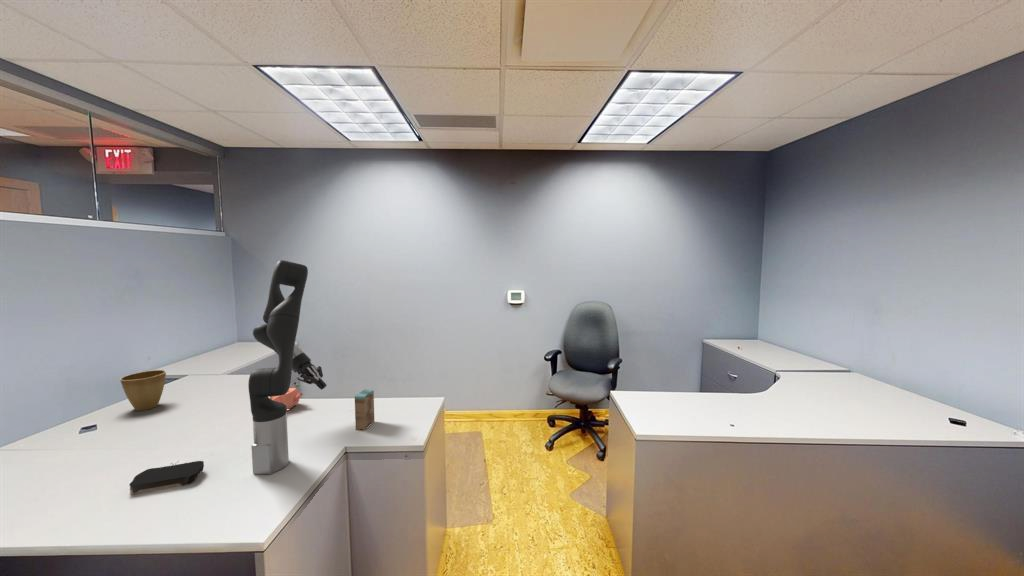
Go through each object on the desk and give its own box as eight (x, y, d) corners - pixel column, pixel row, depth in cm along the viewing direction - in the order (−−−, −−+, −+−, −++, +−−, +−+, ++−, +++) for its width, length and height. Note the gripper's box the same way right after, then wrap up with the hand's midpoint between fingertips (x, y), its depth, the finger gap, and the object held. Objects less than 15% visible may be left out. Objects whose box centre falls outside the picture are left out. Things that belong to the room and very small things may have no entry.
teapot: (303, 408, 163) (303, 388, 163) (273, 415, 155) (272, 394, 155) (298, 401, 172) (297, 382, 171) (269, 407, 164) (268, 387, 163)
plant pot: (137, 403, 169) (135, 371, 168) (175, 400, 174) (173, 368, 173) (113, 416, 155) (110, 381, 154) (155, 411, 160) (152, 377, 159)
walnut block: (365, 430, 141) (364, 396, 140) (355, 429, 141) (354, 396, 140) (374, 421, 149) (373, 389, 148) (365, 421, 149) (364, 389, 148)
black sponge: (207, 470, 114) (207, 459, 114) (193, 485, 106) (193, 473, 106) (143, 480, 109) (143, 469, 108) (124, 497, 101) (123, 485, 100)
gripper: (289, 356, 139) (320, 387, 138) (311, 348, 152) (339, 376, 152) (278, 369, 139) (308, 399, 139) (300, 360, 153) (328, 388, 152)
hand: (324, 387), depth 145 cm, fingers closed
